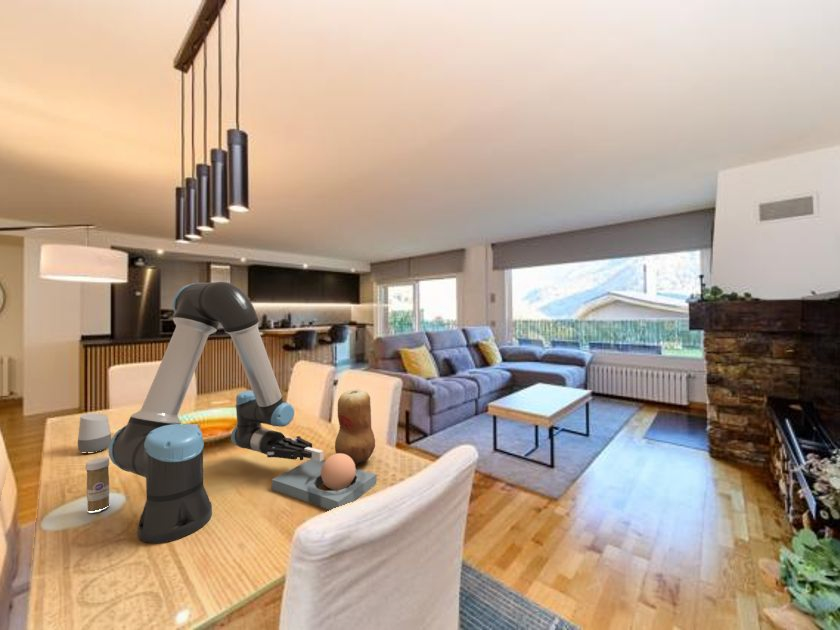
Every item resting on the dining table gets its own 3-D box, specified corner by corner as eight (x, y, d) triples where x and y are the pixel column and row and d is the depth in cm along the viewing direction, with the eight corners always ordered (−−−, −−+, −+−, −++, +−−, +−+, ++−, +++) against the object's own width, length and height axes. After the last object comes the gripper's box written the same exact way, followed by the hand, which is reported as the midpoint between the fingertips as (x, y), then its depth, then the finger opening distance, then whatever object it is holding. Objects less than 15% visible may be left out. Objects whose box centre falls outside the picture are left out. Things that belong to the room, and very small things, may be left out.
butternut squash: (326, 465, 118) (325, 392, 118) (352, 451, 130) (351, 384, 130) (359, 474, 112) (359, 397, 111) (383, 458, 124) (382, 388, 123)
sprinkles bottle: (91, 516, 90) (89, 464, 90) (83, 511, 92) (82, 461, 92) (113, 507, 94) (112, 458, 94) (105, 503, 96) (104, 454, 96)
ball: (308, 475, 103) (330, 500, 103) (323, 468, 96) (347, 495, 97) (330, 450, 110) (351, 473, 111) (346, 442, 104) (367, 467, 105)
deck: (272, 489, 103) (271, 479, 103) (314, 466, 118) (314, 457, 118) (338, 513, 91) (338, 501, 91) (376, 484, 106) (376, 474, 106)
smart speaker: (106, 453, 130) (105, 415, 130) (73, 457, 126) (72, 419, 126) (115, 444, 139) (114, 409, 138) (84, 448, 135) (83, 412, 134)
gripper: (284, 446, 122) (336, 460, 111) (251, 460, 111) (305, 477, 99) (284, 425, 122) (336, 436, 111) (250, 437, 110) (304, 451, 99)
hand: (321, 456), depth 105 cm, fingers closed
